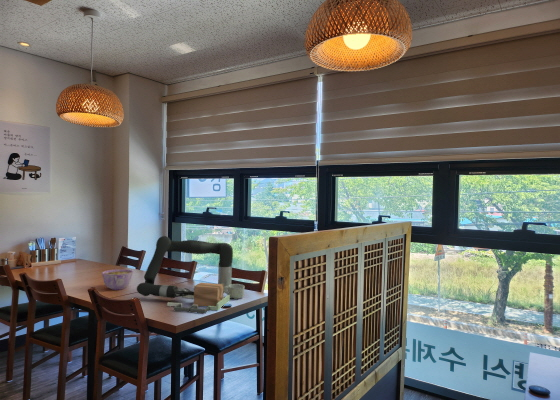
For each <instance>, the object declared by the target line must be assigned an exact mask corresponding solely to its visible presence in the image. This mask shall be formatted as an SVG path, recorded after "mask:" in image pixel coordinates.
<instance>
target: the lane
mask: <svg viewBox="0 0 560 400" xmlns="http://www.w3.org/2000/svg"><path fill="white" fill-rule="evenodd" d="M181 298H182V299H192V298H193V300H194V296H193V295H188V296H187V295H186V296H181ZM230 298H231V297H230V295H227V294H226V296H224V297H223V299H222V300H221V301H219V302H218V303H217V307H216V306H208V307H204V308H199V306H198V305H194V304H191V305H190V306H188V307H186V306H183V303H182V302H169V301H168V302H167V304H166V306H167V307H171V306H175V307H173V311H174V310H175V311H174V312H181V311H187V312H186V313H192V312H197V313H196V314H203V313H205V314H206V312H207V311H208V312H210V311H217V310H218V311H219V310H221V309H222V308H223V307H224V306H225V305H224V304H226V303H227V302H228V301H229V302H230V301H231V299H230ZM229 302H228V303H229ZM228 303H227V304H228ZM227 304H226V305H227ZM223 305H224V306H223ZM222 306H223V307H222ZM221 307H222V308H221ZM220 308H221V309H220ZM189 311H190V312H189ZM208 312H207V313H208Z"/></svg>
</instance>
